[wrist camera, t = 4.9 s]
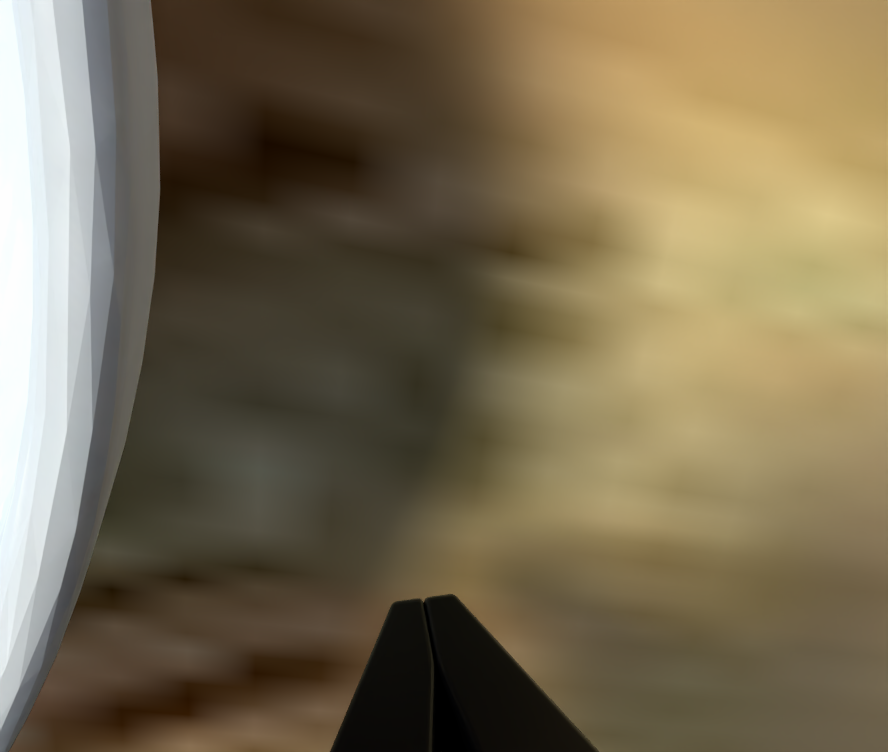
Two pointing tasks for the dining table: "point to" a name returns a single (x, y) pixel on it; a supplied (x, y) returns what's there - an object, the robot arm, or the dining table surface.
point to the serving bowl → (67, 302)
